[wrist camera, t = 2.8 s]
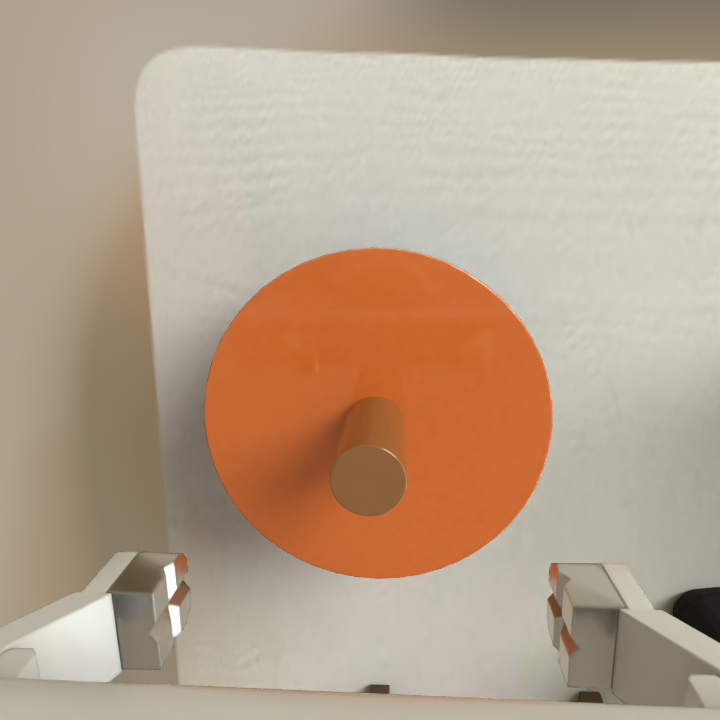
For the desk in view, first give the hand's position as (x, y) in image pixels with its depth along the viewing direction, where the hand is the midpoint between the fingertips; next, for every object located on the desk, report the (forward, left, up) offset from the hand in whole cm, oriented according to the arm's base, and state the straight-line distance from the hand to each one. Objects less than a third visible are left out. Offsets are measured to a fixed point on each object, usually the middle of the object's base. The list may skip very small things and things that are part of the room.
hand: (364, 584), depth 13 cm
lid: (0, 0, -11) cm, 11 cm away
